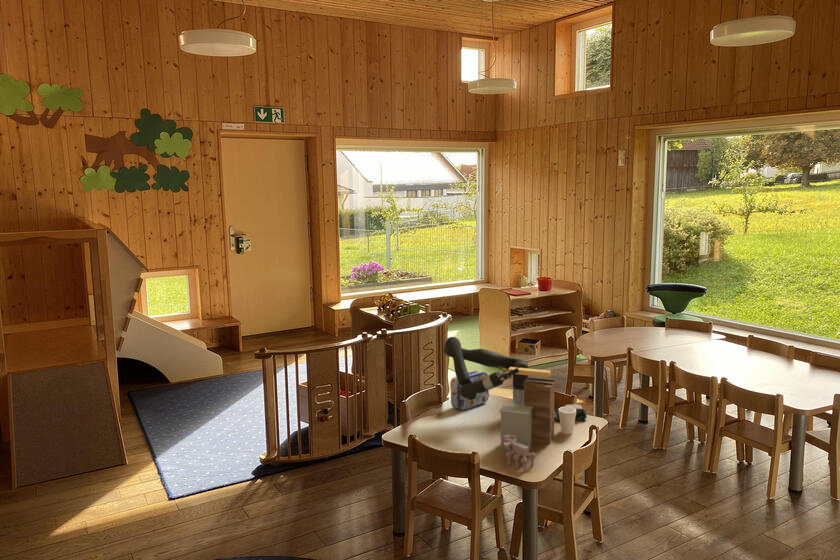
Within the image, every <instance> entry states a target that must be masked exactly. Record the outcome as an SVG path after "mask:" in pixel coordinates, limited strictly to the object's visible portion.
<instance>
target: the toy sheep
mask: <svg viewBox="0 0 840 560" xmlns="http://www.w3.org/2000/svg"><path fill="white" fill-rule="evenodd" d="M499 438H500V440H501V439H502V440H503V441H504V445H505V446H506V449H507V450H506V451H507V452H506V453H505V456H506V457H507V466H511V465H512V464H511V463H512V462H511V458H512V459H513V461H515V469H517V470H519V469H520V465H519V463H521V464H522V468H523V472H524V473H526V472H527V463H528V458H527V457H529V458H530V459H531V460H530V467H531V468H534V465H535V464H534V463H535V458H536V453H535V452H530V449H529V447H528V446H525V445H523V444H520V443H517V442H516V436H515V435H512V436H511V435H509V434H507V435H505V436H501V435H500V436H499ZM515 442H516V443H515ZM511 450H513V451H511ZM513 454H514V455H513ZM521 456H522V458H520V457H521ZM519 461H520V462H519Z"/></svg>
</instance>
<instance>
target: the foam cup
mask: <svg viewBox="0 0 840 560" xmlns="http://www.w3.org/2000/svg"><path fill="white" fill-rule="evenodd" d="M558 409H559V417H560V421H559V424H560V425H559V426H560V431H561V434H564V435H571V434H573V433H574V427H575V422H576V419H575V416H576V409H575V408H572V407H565V406H560V407H559V408H558Z"/></svg>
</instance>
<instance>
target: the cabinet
mask: <svg viewBox="0 0 840 560" xmlns="http://www.w3.org/2000/svg"><path fill="white" fill-rule="evenodd" d="M555 384H556V379H555V378H546V377H536V376H529V377H527V379H526V380H524V384H523V386H524V405H525V406H533V408H532V439H531V443H539V444H546V445H550V444H551V443H552V441H553V438H554V436H555V388H556V387H555Z"/></svg>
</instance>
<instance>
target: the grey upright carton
mask: <svg viewBox="0 0 840 560" xmlns="http://www.w3.org/2000/svg"><path fill="white" fill-rule="evenodd" d="M532 408H533V406H525V405H516V404H513V403H503V405H502V407H500V410H499V412H500V437H501V436H505V435H507V434H509V435H511V436H512V435H515V436H516V442H517V443H520V444H523V445H525V446H528V447H529V450H530V449H531V447H532V442H531V439H532ZM516 442H515V443H516ZM500 449H501V450H504V451H508V450H507V449H506V446H505V445H504V441H503V440H502V439H501V438H500ZM511 451H513V450H511ZM511 451H510V452H511Z"/></svg>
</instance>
